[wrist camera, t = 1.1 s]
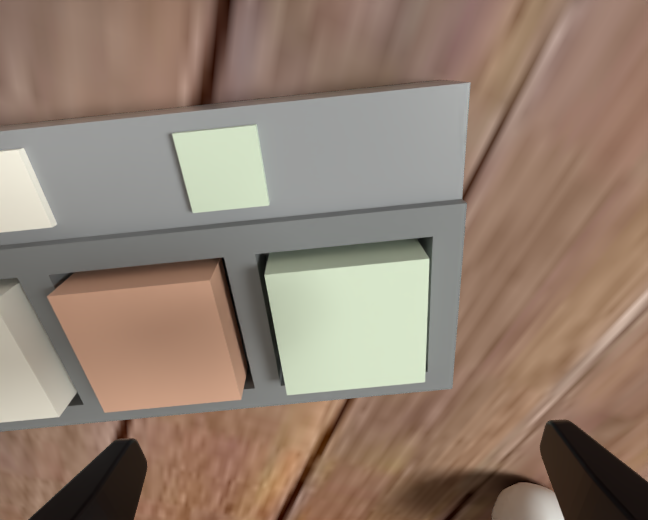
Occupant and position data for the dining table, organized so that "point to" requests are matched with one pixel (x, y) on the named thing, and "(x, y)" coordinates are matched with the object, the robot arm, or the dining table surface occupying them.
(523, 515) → the donut
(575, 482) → the robot arm
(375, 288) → the sage key
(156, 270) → the terracotta key
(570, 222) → the dining table surface
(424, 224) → the keypad
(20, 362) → the ivory key
